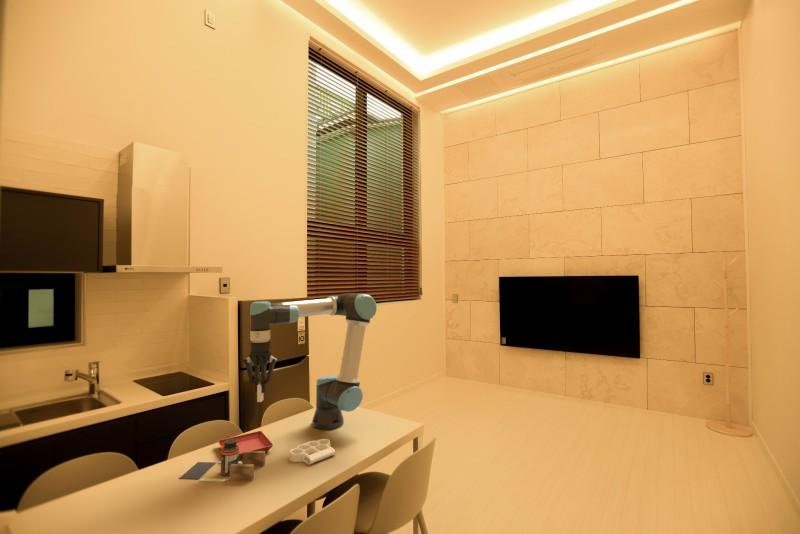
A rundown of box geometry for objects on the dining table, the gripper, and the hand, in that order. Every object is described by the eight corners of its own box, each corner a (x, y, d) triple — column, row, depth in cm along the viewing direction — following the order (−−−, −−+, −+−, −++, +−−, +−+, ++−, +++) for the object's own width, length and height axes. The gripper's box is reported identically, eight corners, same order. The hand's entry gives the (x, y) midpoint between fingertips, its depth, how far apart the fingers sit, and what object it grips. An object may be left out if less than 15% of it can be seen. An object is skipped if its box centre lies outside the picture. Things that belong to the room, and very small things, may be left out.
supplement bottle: (219, 470, 141) (221, 439, 142) (237, 466, 144) (238, 436, 144) (221, 477, 136) (222, 445, 136) (239, 474, 139) (240, 442, 139)
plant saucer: (226, 465, 146) (226, 456, 146) (216, 447, 161) (217, 439, 161) (273, 453, 157) (274, 444, 157) (261, 437, 171) (261, 430, 171)
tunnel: (265, 464, 146) (265, 451, 146) (251, 480, 134) (252, 466, 134) (244, 463, 146) (244, 450, 147) (229, 480, 134) (229, 465, 135)
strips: (241, 462, 148) (241, 461, 148) (223, 482, 133) (223, 481, 133) (220, 461, 148) (220, 460, 148) (199, 481, 134) (199, 480, 134)
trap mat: (215, 463, 147) (215, 462, 147) (198, 479, 135) (198, 478, 135) (197, 462, 147) (197, 461, 147) (179, 478, 135) (179, 478, 135)
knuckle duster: (303, 469, 143) (283, 457, 153) (341, 454, 156) (320, 443, 166) (303, 460, 143) (283, 448, 153) (341, 445, 156) (320, 435, 166)
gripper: (239, 342, 148) (239, 404, 147) (273, 342, 148) (273, 404, 147) (247, 339, 155) (247, 397, 155) (279, 339, 155) (279, 397, 155)
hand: (260, 400), depth 151 cm, fingers closed
